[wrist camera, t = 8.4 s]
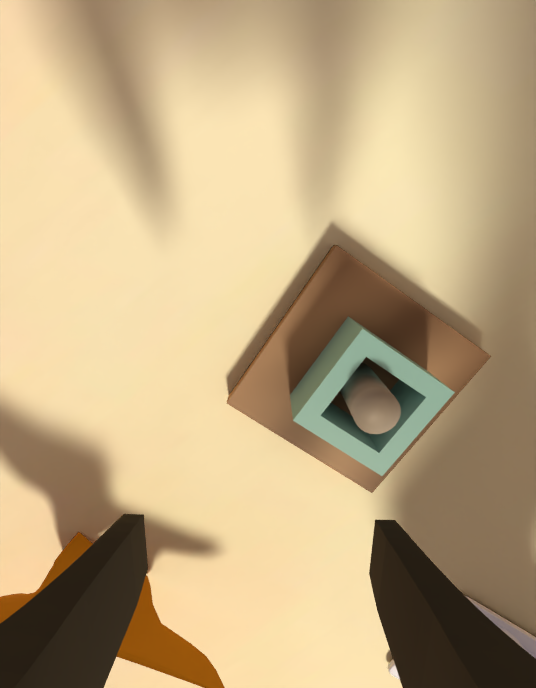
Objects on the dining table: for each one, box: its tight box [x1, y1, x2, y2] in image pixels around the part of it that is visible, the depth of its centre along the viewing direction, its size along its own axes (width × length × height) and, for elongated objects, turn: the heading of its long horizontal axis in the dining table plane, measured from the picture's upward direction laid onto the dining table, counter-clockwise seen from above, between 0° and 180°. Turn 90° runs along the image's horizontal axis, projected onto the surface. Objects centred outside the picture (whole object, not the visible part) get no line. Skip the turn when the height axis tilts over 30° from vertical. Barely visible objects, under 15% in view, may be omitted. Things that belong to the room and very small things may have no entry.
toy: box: [0, 532, 224, 688], centre depth 20 cm, size 3×16×10 cm, turn 65°
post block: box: [227, 245, 491, 493], centre depth 18 cm, size 10×10×5 cm
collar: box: [290, 317, 455, 476], centre depth 18 cm, size 5×5×3 cm
